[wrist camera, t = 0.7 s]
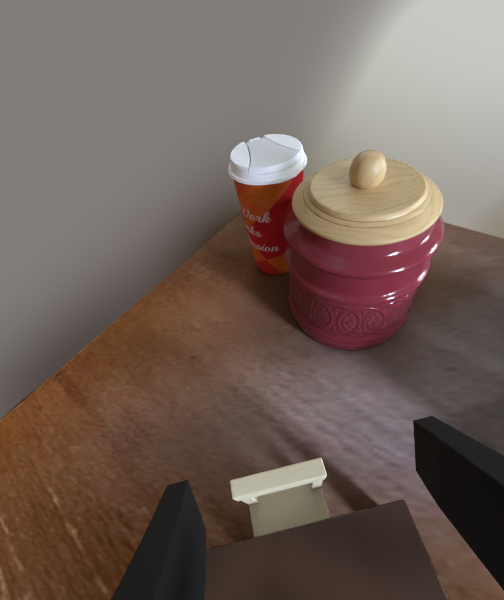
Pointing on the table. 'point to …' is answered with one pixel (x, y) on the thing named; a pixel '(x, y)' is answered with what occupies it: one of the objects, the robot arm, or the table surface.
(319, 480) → the chair
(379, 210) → the kitchen canister
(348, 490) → the table surface
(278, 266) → the coffee cup
